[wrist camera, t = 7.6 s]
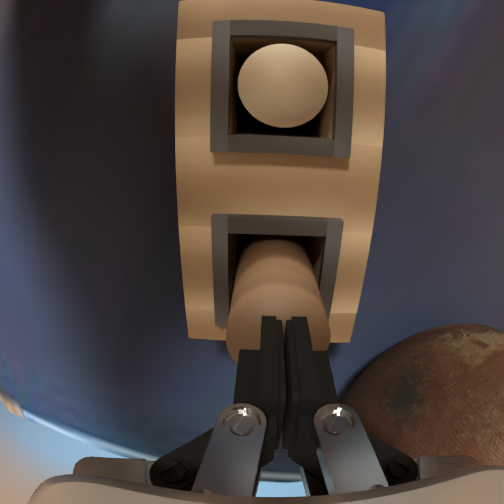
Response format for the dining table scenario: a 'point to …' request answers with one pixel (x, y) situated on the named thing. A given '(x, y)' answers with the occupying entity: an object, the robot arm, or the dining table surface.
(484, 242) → the dining table surface
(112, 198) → the dining table surface
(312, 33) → the oak block
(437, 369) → the pottery
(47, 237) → the dining table surface
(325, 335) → the walnut peg
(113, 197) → the dining table surface
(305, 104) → the maple peg
